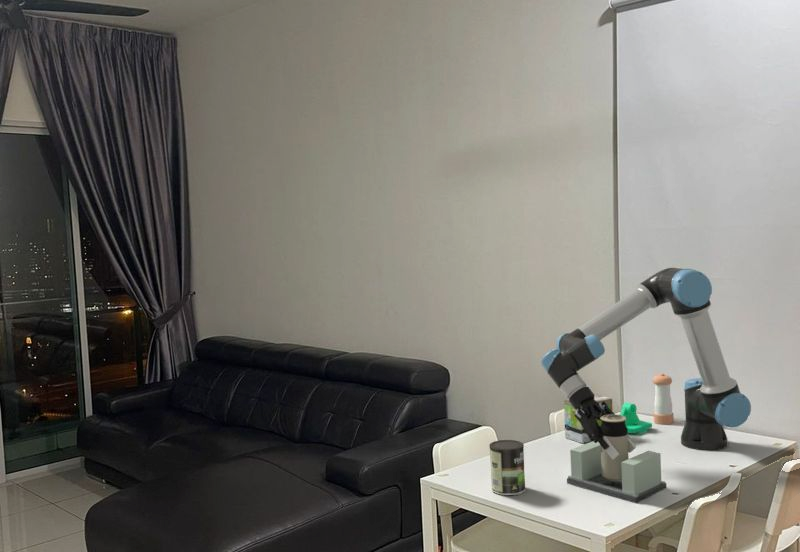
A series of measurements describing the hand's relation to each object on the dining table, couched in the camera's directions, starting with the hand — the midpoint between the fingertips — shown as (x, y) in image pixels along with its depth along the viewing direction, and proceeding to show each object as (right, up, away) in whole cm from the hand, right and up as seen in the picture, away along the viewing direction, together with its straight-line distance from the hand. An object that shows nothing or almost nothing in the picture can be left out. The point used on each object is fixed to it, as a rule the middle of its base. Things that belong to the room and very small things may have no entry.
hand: (624, 453), depth 219 cm
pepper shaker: (+36, -4, +68) cm, 77 cm away
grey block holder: (-2, -9, +3) cm, 10 cm away
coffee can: (-34, -12, +5) cm, 36 cm away
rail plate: (-2, -10, +3) cm, 11 cm away
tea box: (+3, -7, +54) cm, 54 cm away
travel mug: (-2, -8, +3) cm, 9 cm away
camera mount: (+22, -6, +59) cm, 63 cm away
